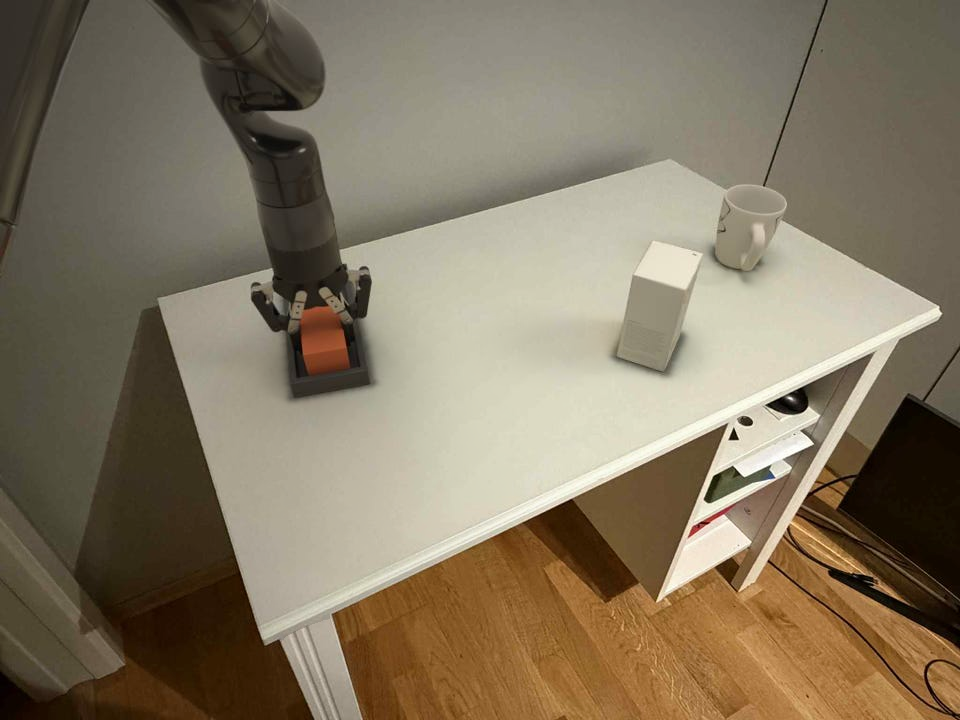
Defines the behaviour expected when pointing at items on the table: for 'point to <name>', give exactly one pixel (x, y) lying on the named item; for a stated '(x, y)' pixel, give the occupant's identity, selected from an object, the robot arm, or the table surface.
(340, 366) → the orange block
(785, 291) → the table surface
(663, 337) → the small box
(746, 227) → the mug
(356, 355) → the frame
